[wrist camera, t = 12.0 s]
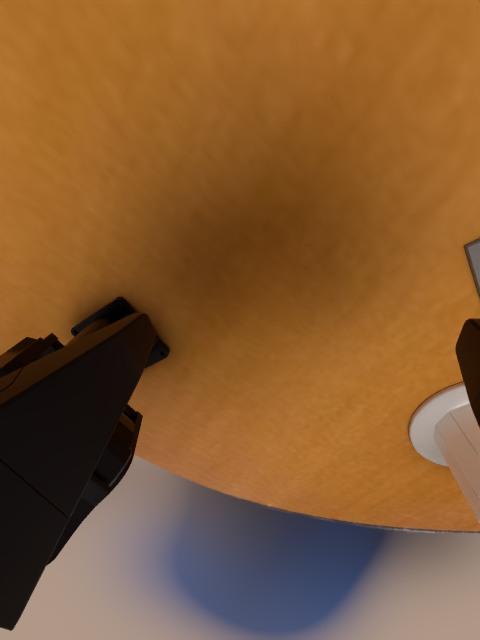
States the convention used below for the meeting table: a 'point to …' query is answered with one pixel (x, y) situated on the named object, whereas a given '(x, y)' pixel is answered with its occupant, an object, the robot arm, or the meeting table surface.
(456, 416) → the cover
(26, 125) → the meeting table surface
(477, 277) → the mat
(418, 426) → the saucer
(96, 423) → the robot arm
